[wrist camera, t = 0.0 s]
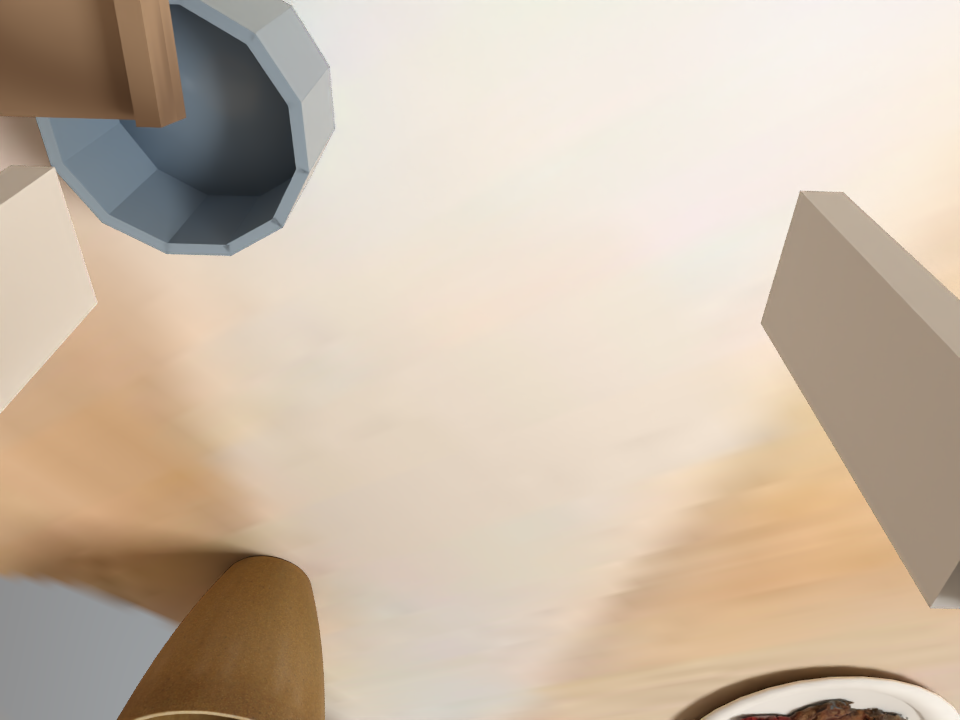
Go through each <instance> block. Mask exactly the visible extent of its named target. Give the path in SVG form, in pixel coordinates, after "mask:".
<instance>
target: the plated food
mask: <svg viewBox="0 0 960 720" xmlns="http://www.w3.org/2000/svg"><path fill="white" fill-rule="evenodd" d="M700 720H960V715H959V714H958V712H957V711H956V709H955V708H954V706H953V705H951V704H950V703H949V702H947V701H946V700H945V699H944V698H942V697H941V696H940V695H938V694H936V693H934V692H931V691H929V690H927V689H925V688H922V687H920V686H918V685H914V684H910V683H905V682H901V681H897V680H893V679H884V678H874V677H864V676H856V677H826V678H818V679H810V680H802V681H796V682H792V683H787V684H783V685H779V686H774V687H770V688H766V689H763V690H760V691H758V692H755V693H752V694H749V695H746V696H743V697H740V698H738V699H736V700H734V701H732V702H730V703H728V704H725V705H723V706H721V707H719V708H717V709H715V710H714V711H712V712H711V713H709V714H708V715H706V716H705V717H703V718H702V719H700Z"/></svg>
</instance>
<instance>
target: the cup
mask: <svg viewBox="0 0 960 720" xmlns="http://www.w3.org/2000/svg"><path fill="white" fill-rule="evenodd" d="M169 6H170V13H171V19H172V26H173V33H174V39H175V46H176V53H177V59H178V66H179V73H180V79H181V86H182V92H183V99H184V106H185V112H186V118H184V119H182V120H179V121H177V122H174V123H172V124H169V125H167V126H164V127H162V128H153V127H136V121H135V120H120V119H85V118H50V117H36V120H37V124H38V127H39V130H40V133H41V136H42V139H43V142H44V145H45V148H46V151H47V155H48V158H49V161H50V164H51V166H52V167H55V169H56V172H57V173H58V174H59V175H60V176H61V177H62V179H63V180H64V181H65V182H66V183H67V184H68V185H69V186H70V187H71V188H72V190H73V191H74V192H75V193H76V194H77V195H78V196H79V197H80V198H81V200H82V201H83V202H84V203H85V204H86V205H87V206H88V207H89V208H90V210H91V211H92V212H93V213H94V214H95V215H96V216H97V217H98V218H99V220H100V221H101V222H102V223H104V224H106V225H108V226H110V227H112V228H114V229H117V230H119V231H121V232H123V233H125V234H127V235H129V236H131V237H133V238H135V239H137V240H139V241H141V242H143V243H145V244H147V245H149V246H152V247H154V248H156V249H158V250H160V251H162V252H164V253H166V254H188V255H224V256H232V255H233V254H235V253H237V252H239V251H241V250H242V249H244V248H246V247H248V246H250V245H252V244H253V243H255V242H257V241H259V240H261V239H262V238H264V237H266V236H268V235H270V234H272V233H273V232H275V231H277V230H279V229H281V228H283V226H284V224H285V223H286V221H287V219H288V217H289V215H290V214H291V212H292V210H293V208H294V206H295V205H296V203H297V201H298V199H299V198H300V196H301V194H302V192H303V190H304V189H305V187H306V185H307V183H308V181H309V180H310V178H311V176H312V174H313V172H314V170H315V168H316V166H317V164H318V162H319V160H320V158H321V156H322V153H323V151H324V149H325V147H326V145H327V143H328V141H329V139H330V137H331V135H332V133H333V131H334V129H335V124H334V112H333V101H332V90H331V78H330V66H329V65H328V63H327V62H326V60H325V58H324V57H323V55H322V54H321V52H320V50H319V49H318V47H317V46H316V44H315V42H314V41H313V39H312V38H311V36H310V34H309V33H308V31H307V30H306V28H305V26H304V25H303V23H302V22H301V20H300V18H299V17H298V15H297V14H296V12H295V11H294V9H293V7H292V6H291V5H289V4H287V3H286V2H284V1H282V0H169Z"/></svg>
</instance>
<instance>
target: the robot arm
mask: <svg viewBox="0 0 960 720" xmlns="http://www.w3.org/2000/svg"><path fill="white" fill-rule="evenodd" d="M97 303H98V302H97V299H96V296H95V293H94V290H93V287H92V283H91V280H90V277H89V274H88V271H87V267H86V264H85V261H84V258H83V255H82V252H81V248H80V245H79V242H78V239H77V236H76V233H75V229H74V226H73V223H72V220H71V217H70V214H69V210H68V207H67V204H66V201H65V198H64V195H63V191H62V188H61V185H60V182H59V179H58V176H57V172H56V169H55V167H45V166H14V165H11V166H9V167H7V168H6V169H4V170H3V171H1V172H0V413H1V412H2V411H3V410H4V409H5V408H6V406H7V405H8V404H9V403H10V402H11V401H12V400H13V399H14V397H15V396H16V395H17V394H18V393H19V392H20V391H21V390H22V388H23V387H24V386H25V385H26V384H27V383H28V382H29V380H30V379H31V378H32V377H33V376H34V375H35V374H36V373H37V371H38V370H39V369H40V368H41V367H42V366H43V365H44V363H45V362H46V361H47V360H48V359H49V358H50V357H51V356H52V354H53V353H54V352H55V351H56V350H57V349H58V348H59V347H60V345H61V344H62V343H63V342H64V341H65V340H66V339H67V337H68V336H69V335H70V334H71V333H72V332H73V331H74V330H75V328H76V327H77V326H78V325H79V324H80V323H81V322H82V320H83V319H84V318H85V317H86V316H87V315H88V314H89V313H90V311H91V310H92V309H93V308H94V307H95V306H96V305H97ZM761 325H762V326H763V328H764V330H765V331H766V333H767V335H768V336H769V338H770V340H771V341H772V343H773V345H774V346H775V348H776V350H777V351H778V353H779V355H780V357H781V358H782V360H783V362H784V363H785V365H786V367H787V368H788V370H789V372H790V373H791V375H792V377H793V378H794V380H795V382H796V383H797V385H798V387H799V389H800V390H801V392H802V394H803V395H804V397H805V399H806V400H807V402H808V404H809V405H810V407H811V409H812V410H813V412H814V414H815V415H816V417H817V419H818V420H819V422H820V424H821V426H822V427H823V429H824V431H825V432H826V434H827V436H828V437H829V439H830V441H831V442H832V444H833V446H834V447H835V449H836V451H837V452H838V454H839V456H840V458H841V459H842V461H843V463H844V464H845V466H846V468H847V469H848V471H849V473H850V474H851V476H852V478H853V479H854V481H855V483H856V484H857V486H858V488H859V490H860V491H861V493H862V495H863V496H864V498H865V500H866V501H867V503H868V505H869V506H870V508H871V510H872V511H873V513H874V515H875V516H876V518H877V520H878V521H879V523H880V525H881V527H882V528H883V530H884V532H885V533H886V535H887V537H888V538H889V540H890V542H891V543H892V545H893V547H894V548H895V550H896V552H897V553H898V555H899V557H900V559H901V560H902V562H903V564H904V565H905V567H906V569H907V570H908V572H909V574H910V575H911V577H912V579H913V580H914V582H915V584H916V585H917V587H918V589H919V590H920V592H921V594H922V596H923V597H924V599H925V601H926V602H927V604H928V606H929V607H930V608H942V609H960V300H959V299H958V298H957V297H956V296H955V295H954V294H953V293H951V292H950V291H949V290H948V289H947V288H946V287H945V286H944V285H943V284H942V283H941V282H940V281H939V280H937V279H936V278H935V277H934V276H933V275H932V274H931V273H930V272H929V271H928V270H927V269H926V268H924V267H923V266H922V265H921V264H920V263H919V262H918V261H917V260H916V259H915V258H914V257H913V256H911V255H910V254H909V253H908V252H907V251H906V250H905V249H904V248H903V247H902V246H901V245H900V244H899V243H897V242H896V241H895V240H894V239H893V238H892V237H891V236H890V235H889V234H888V233H887V232H886V231H884V230H883V229H882V228H881V227H880V226H879V225H878V224H877V223H876V222H875V221H874V220H873V219H872V218H870V217H869V216H868V215H867V214H866V213H865V212H864V211H863V210H862V209H861V208H860V207H859V206H857V205H856V204H855V203H854V202H853V201H852V200H851V199H850V198H849V197H848V196H847V195H846V194H845V193H843V192H819V191H800V193H799V197H798V200H797V203H796V207H795V210H794V213H793V217H792V220H791V223H790V227H789V230H788V233H787V237H786V240H785V244H784V247H783V250H782V254H781V257H780V260H779V264H778V267H777V270H776V274H775V277H774V280H773V284H772V287H771V290H770V294H769V297H768V301H767V304H766V307H765V311H764V314H763V317H762V321H761Z"/></svg>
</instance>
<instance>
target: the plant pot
mask: <svg viewBox="0 0 960 720" xmlns="http://www.w3.org/2000/svg"><path fill="white" fill-rule="evenodd" d="M117 720H325V697H324V672H323V658H322V647H321V638H320V630H319V623H318V617H317V611H316V606H315V601H314V596H313V591H312V587H311V583H310V580H309V578H308V577H307V575H306V574H305V573H304V572H303V571H302V570H301V569H300V568H298V567H297V566H296V565H294V564H292V563H290V562H288V561H285V560H283V559H279V558H275V557H269V556H255V557H249V558H245V559H242V560H240V561H238V562H236V563H234V564H233V565H232V566H231V567H230V568H229V569H228V570H227V571H226V572H225V573H224V574H223V575H222V576H221V577H220V578H219V579H218V580H217V581H216V583H215V584H214V585H213V586H212V587H211V588H210V589H209V590H208V591H207V592H206V594H205V595H204V596H203V597H202V598H201V599H200V600H199V602H198V603H197V604H196V605H195V606H194V608H193V609H192V610H191V611H190V612H189V614H188V615H187V616H186V617H185V619H184V620H183V621H182V623H181V624H180V625H179V626H178V628H177V629H176V630H175V632H174V633H173V634H172V636H171V637H170V639H169V640H168V641H167V643H166V644H165V645H164V647H163V648H162V650H161V651H160V653H159V654H158V655H157V657H156V658H155V660H154V661H153V663H152V664H151V666H150V667H149V669H148V670H147V672H146V673H145V675H144V676H143V678H142V679H141V681H140V683H139V684H138V686H137V687H136V689H135V691H134V692H133V694H132V695H131V697H130V699H129V700H128V702H127V704H126V705H125V707H124V709H123V710H122V712H121V714H120V715H119V717H118V719H117Z"/></svg>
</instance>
